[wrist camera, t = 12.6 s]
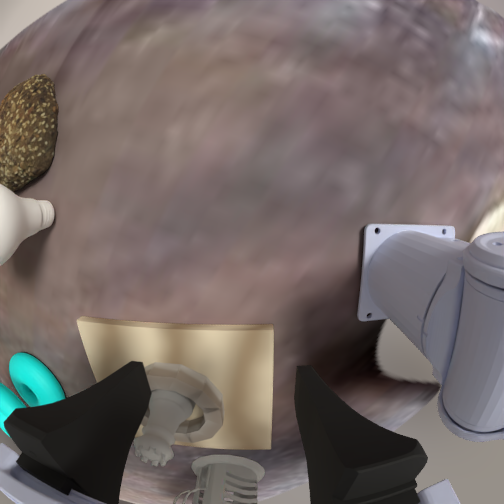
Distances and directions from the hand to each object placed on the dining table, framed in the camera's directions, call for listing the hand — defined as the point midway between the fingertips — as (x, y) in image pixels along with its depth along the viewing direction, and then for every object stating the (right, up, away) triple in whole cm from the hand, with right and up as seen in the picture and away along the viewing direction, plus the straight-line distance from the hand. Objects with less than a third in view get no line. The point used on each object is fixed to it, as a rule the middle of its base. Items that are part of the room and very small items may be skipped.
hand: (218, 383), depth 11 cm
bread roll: (-22, +19, +7) cm, 30 cm away
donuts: (-27, -11, +13) cm, 32 cm away
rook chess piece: (-6, -7, +11) cm, 14 cm away
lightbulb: (-17, +10, +9) cm, 21 cm away
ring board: (-6, -8, +12) cm, 15 cm away
